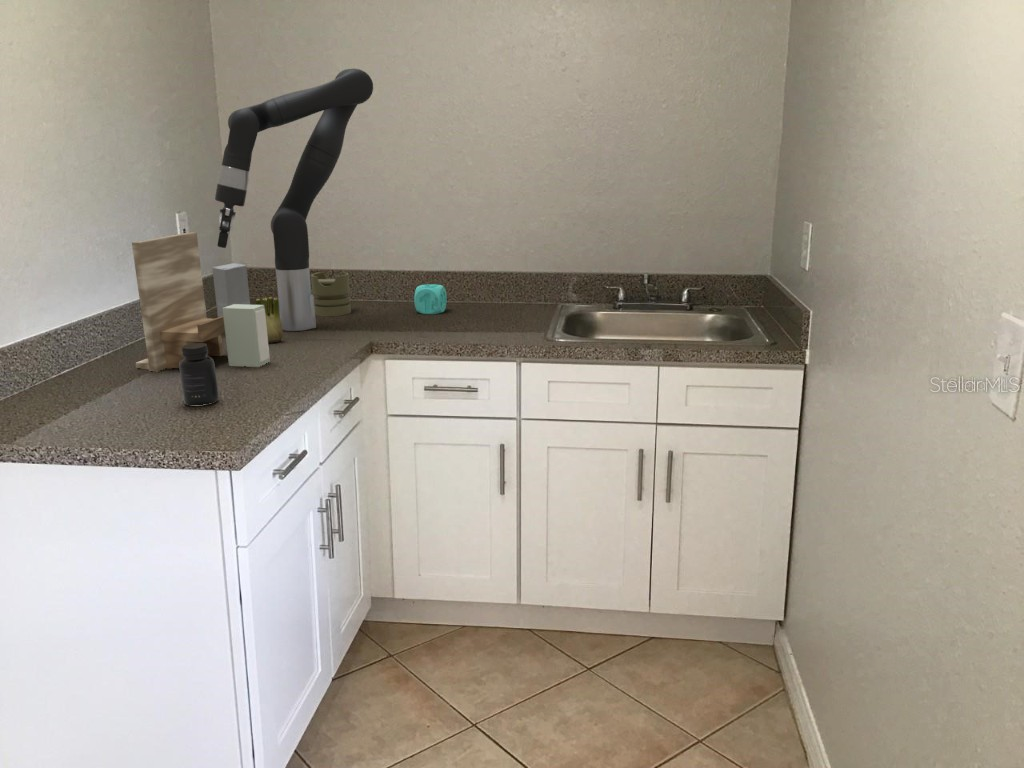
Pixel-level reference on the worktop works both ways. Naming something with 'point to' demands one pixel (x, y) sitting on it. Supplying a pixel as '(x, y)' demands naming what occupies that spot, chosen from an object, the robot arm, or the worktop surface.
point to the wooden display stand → (173, 300)
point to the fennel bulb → (272, 319)
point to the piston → (331, 294)
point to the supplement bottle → (198, 375)
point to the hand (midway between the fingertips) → (221, 246)
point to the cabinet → (246, 335)
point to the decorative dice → (430, 299)
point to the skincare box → (230, 286)
